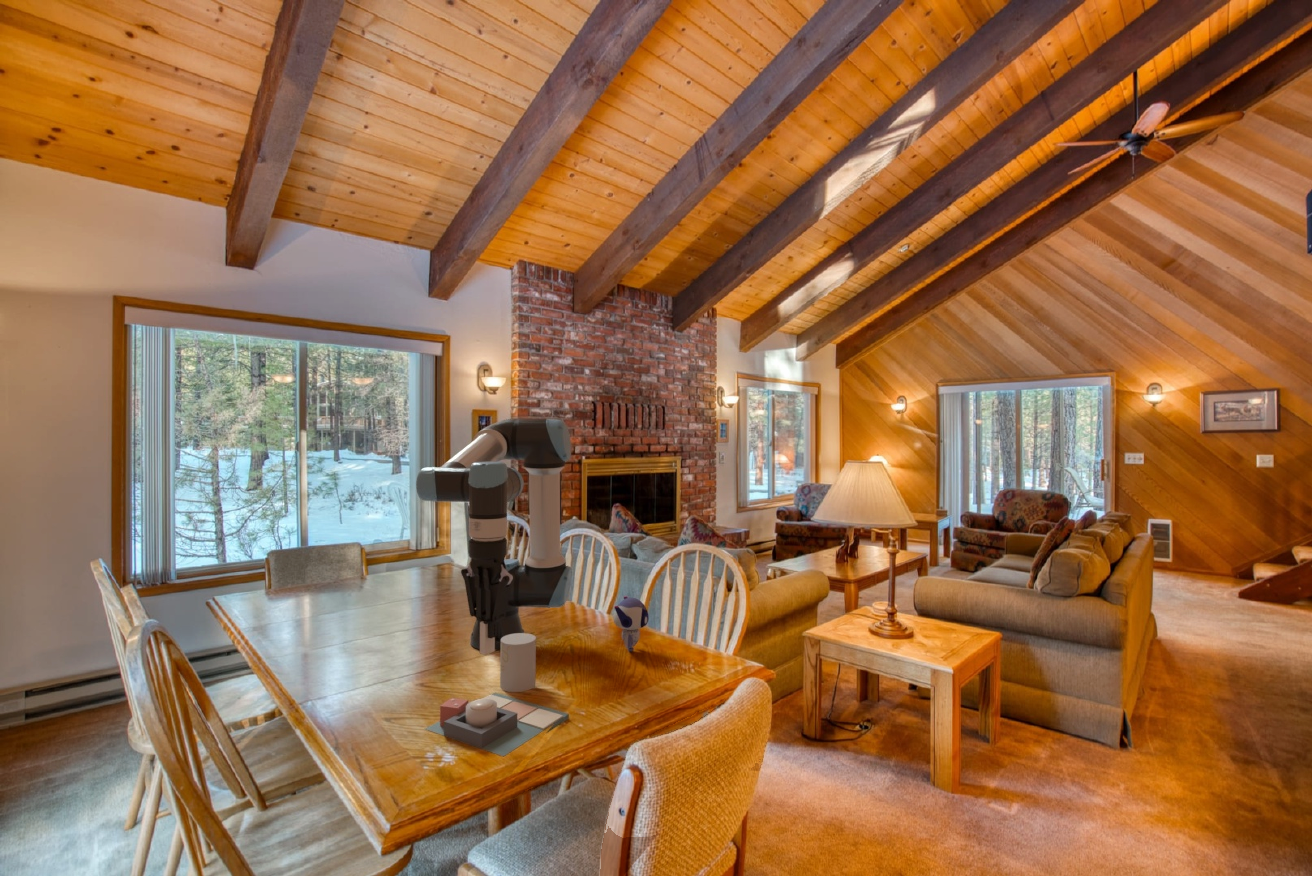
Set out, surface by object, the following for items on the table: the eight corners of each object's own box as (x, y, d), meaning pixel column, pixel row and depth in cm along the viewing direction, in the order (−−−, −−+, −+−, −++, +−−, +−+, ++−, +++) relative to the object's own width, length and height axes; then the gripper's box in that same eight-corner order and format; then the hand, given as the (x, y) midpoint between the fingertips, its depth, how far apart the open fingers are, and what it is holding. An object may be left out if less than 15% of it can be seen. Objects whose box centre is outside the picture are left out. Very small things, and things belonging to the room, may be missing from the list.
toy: (643, 660, 166) (644, 604, 166) (608, 656, 168) (608, 601, 168) (651, 646, 177) (652, 594, 176) (618, 643, 179) (619, 592, 178)
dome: (459, 727, 123) (459, 705, 123) (481, 715, 128) (481, 694, 128) (481, 735, 120) (481, 712, 120) (503, 722, 125) (503, 701, 125)
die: (440, 725, 126) (440, 704, 126) (451, 716, 130) (451, 696, 130) (457, 728, 125) (457, 706, 125) (468, 719, 129) (468, 698, 129)
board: (424, 733, 125) (424, 714, 124) (495, 697, 142) (495, 680, 142) (503, 761, 114) (503, 741, 114) (568, 718, 132) (569, 700, 132)
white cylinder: (503, 682, 150) (503, 633, 150) (537, 681, 151) (537, 632, 151) (497, 696, 142) (497, 644, 142) (533, 696, 143) (533, 644, 143)
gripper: (450, 537, 126) (450, 652, 126) (499, 544, 120) (498, 664, 120) (478, 532, 133) (477, 641, 133) (525, 538, 126) (524, 652, 127)
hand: (487, 652), depth 127 cm, fingers closed
